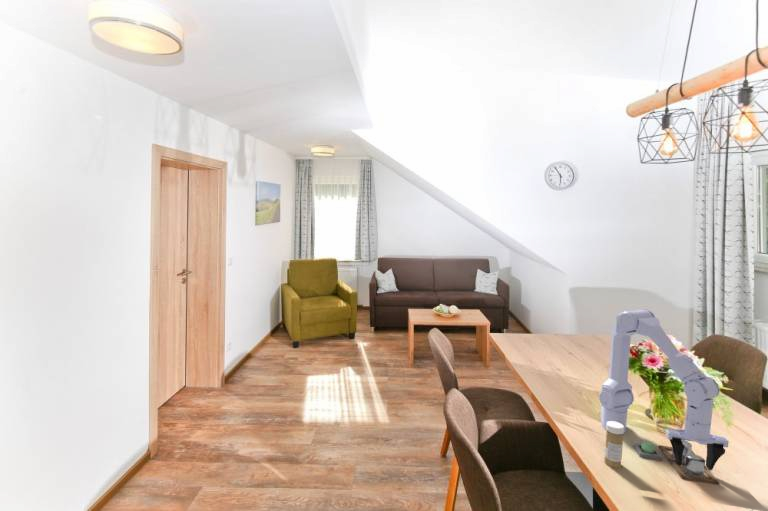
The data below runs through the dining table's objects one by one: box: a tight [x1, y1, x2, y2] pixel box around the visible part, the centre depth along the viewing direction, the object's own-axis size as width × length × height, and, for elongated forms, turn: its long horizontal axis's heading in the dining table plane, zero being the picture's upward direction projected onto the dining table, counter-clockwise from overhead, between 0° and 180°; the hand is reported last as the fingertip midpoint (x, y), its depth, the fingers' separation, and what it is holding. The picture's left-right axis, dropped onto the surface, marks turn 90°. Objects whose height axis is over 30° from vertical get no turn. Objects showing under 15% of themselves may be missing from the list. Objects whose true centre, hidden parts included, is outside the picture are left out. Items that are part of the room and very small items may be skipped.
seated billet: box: [671, 440, 693, 461], centre depth 125 cm, size 4×4×6 cm
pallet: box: [658, 444, 720, 486], centre depth 122 cm, size 17×9×2 cm, turn 165°
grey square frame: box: [632, 442, 663, 461], centre depth 127 cm, size 6×6×2 cm
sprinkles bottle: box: [603, 421, 625, 469], centre depth 120 cm, size 5×5×13 cm
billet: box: [683, 453, 706, 478], centre depth 117 cm, size 4×4×6 cm
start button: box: [640, 440, 656, 454], centre depth 127 cm, size 3×3×3 cm
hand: (693, 465), depth 118 cm, fingers open, 7 cm apart
